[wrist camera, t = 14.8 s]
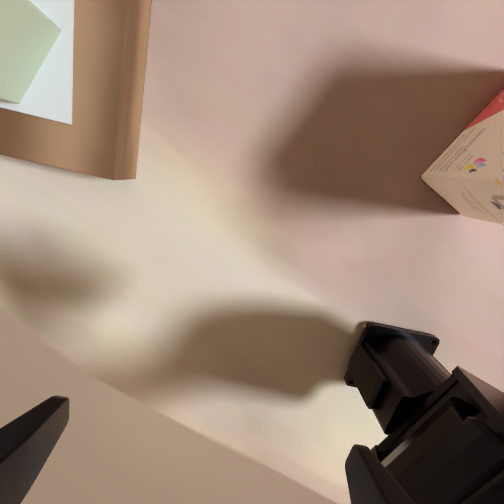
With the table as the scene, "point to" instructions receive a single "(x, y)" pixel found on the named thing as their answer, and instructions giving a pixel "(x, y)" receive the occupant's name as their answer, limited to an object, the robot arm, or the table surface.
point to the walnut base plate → (84, 91)
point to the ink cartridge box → (474, 167)
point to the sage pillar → (22, 46)
